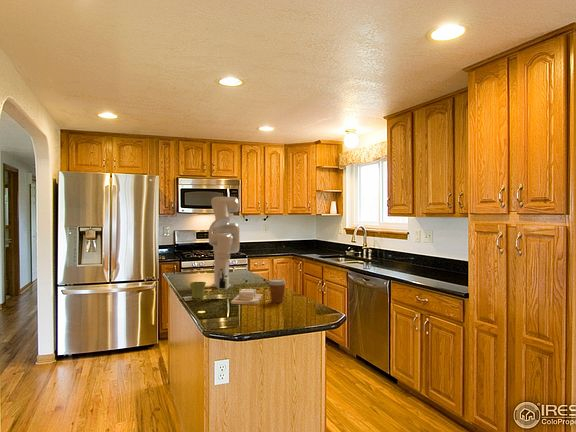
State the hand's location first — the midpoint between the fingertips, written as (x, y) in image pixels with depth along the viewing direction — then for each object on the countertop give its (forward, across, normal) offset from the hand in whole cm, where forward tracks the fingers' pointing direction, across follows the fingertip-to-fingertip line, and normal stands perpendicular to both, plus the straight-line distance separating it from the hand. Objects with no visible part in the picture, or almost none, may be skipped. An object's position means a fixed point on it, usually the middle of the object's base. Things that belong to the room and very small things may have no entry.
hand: (223, 286), depth 236 cm
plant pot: (+7, +2, -15) cm, 16 cm away
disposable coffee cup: (+6, +6, +32) cm, 33 cm away
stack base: (+6, +5, +15) cm, 17 cm away
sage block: (+1, 0, 0) cm, 1 cm away
